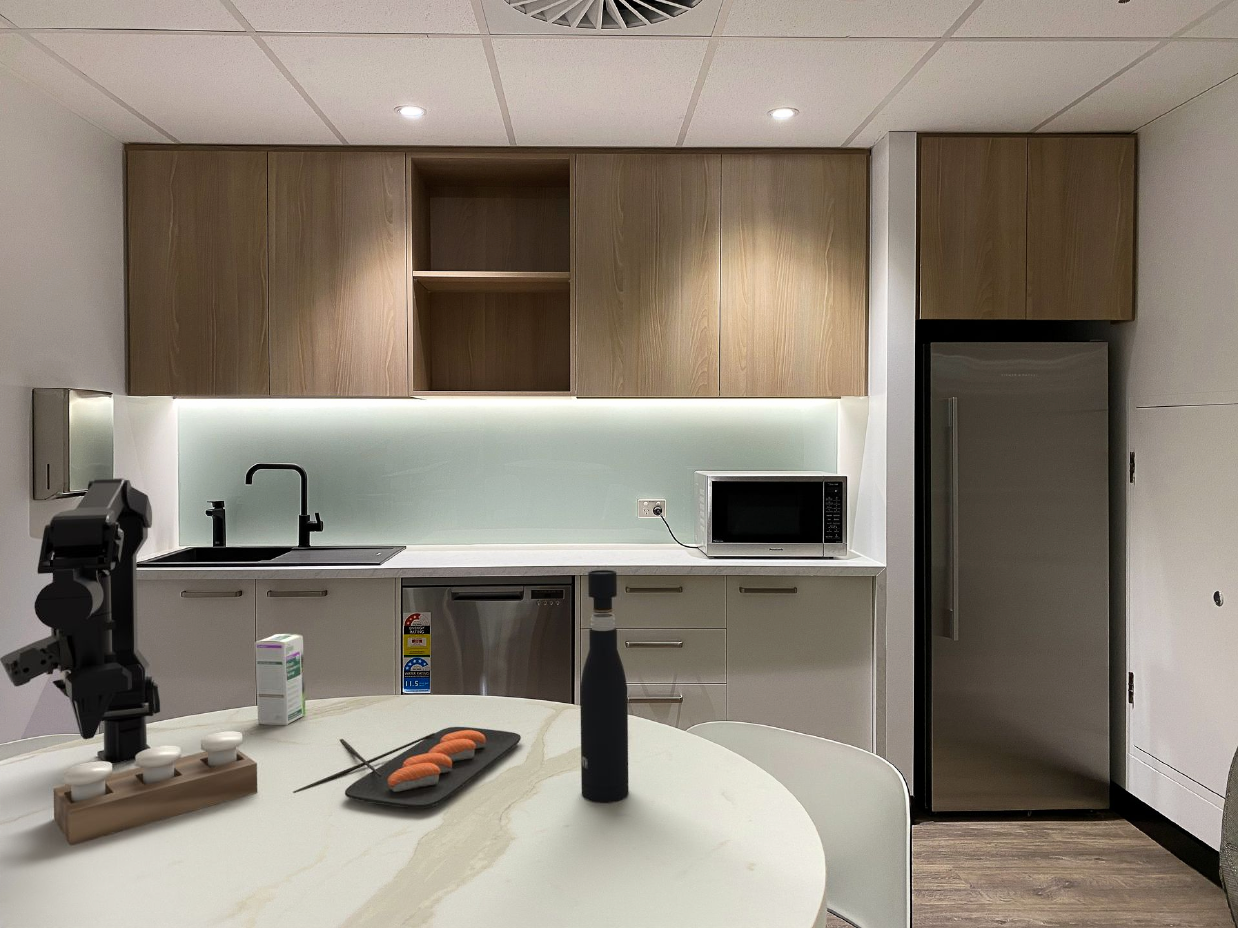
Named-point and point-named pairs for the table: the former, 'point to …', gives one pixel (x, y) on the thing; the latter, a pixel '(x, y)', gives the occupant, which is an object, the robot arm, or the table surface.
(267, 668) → the syrup box
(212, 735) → the knob
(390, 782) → the sushi plate
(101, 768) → the knob
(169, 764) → the knob middle
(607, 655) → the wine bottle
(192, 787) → the knob mount
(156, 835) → the table surface
